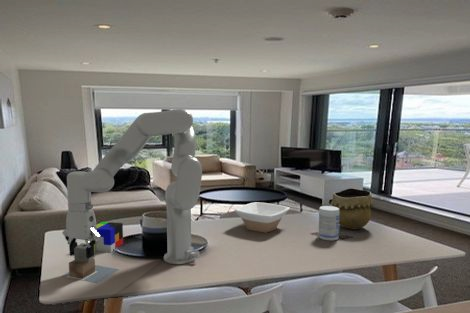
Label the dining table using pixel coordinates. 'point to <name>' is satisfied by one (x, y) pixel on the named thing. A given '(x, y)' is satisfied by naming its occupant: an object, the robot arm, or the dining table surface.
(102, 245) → the puzzle toy
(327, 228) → the supplement tub
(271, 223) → the bowl
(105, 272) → the board
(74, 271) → the walnut block
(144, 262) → the dining table surface
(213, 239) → the dining table surface
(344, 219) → the clay pot
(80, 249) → the grey cube
